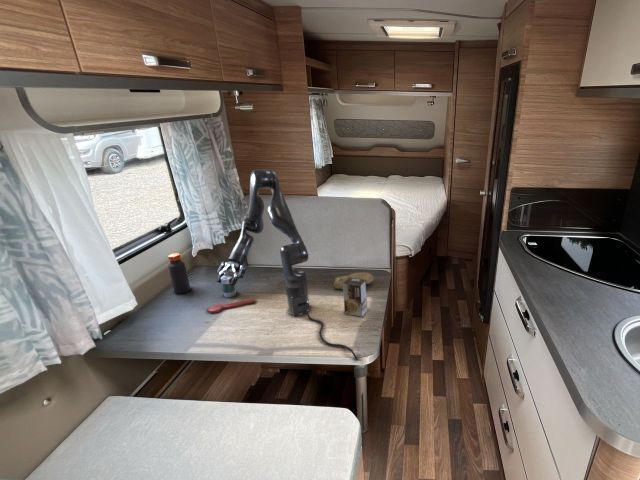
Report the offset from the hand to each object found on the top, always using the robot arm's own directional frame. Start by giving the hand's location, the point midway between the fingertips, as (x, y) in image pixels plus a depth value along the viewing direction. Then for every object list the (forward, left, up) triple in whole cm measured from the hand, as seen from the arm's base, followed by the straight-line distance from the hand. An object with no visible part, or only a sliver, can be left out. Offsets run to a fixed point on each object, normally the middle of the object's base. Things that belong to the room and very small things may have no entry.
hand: (225, 283), depth 166 cm
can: (+1, -1, -7) cm, 7 cm away
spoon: (-11, -2, -7) cm, 13 cm away
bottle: (+15, +21, -7) cm, 27 cm away
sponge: (-15, -61, -7) cm, 63 cm away
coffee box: (-39, -55, -7) cm, 68 cm away
